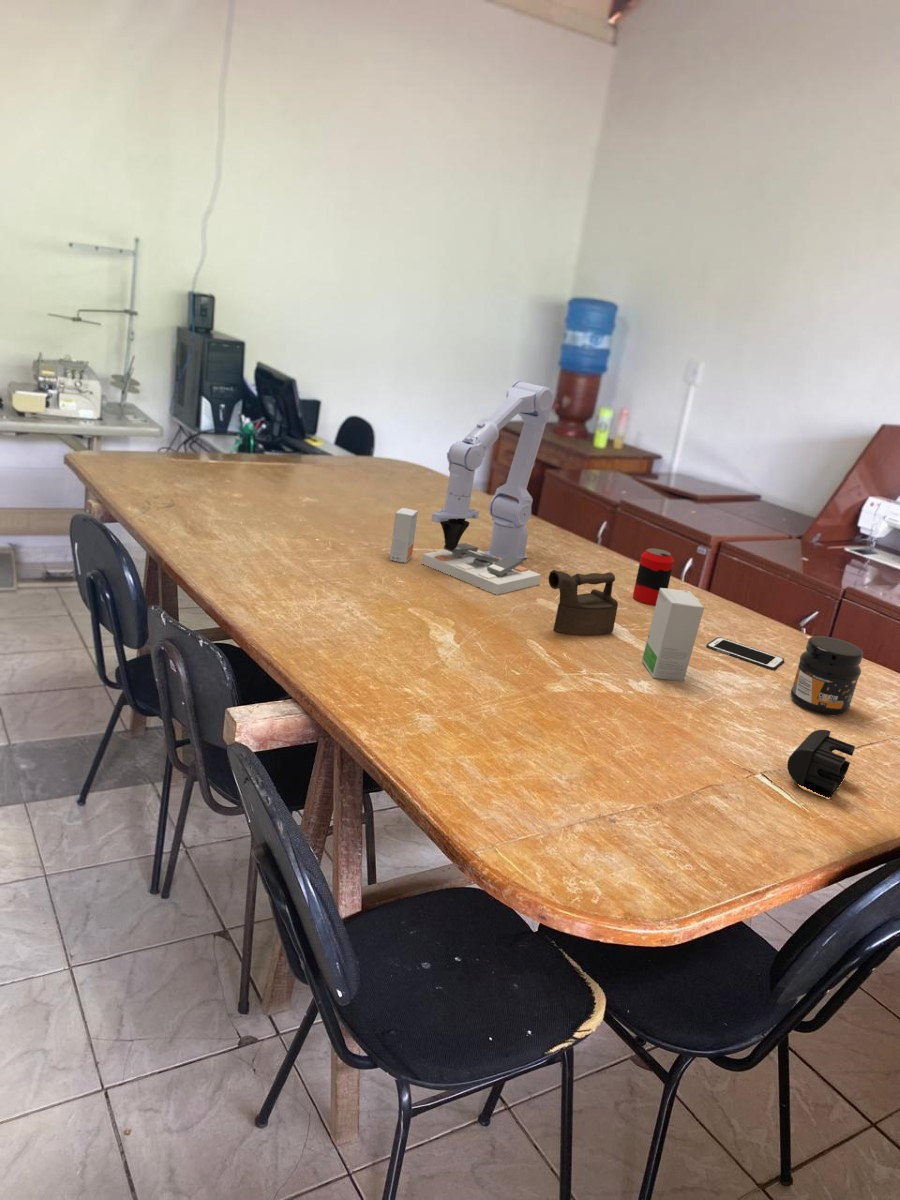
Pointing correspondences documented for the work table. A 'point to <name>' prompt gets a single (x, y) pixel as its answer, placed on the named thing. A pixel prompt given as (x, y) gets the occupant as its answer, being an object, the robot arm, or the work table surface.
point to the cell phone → (745, 653)
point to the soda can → (652, 575)
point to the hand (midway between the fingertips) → (450, 549)
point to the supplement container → (827, 675)
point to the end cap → (820, 763)
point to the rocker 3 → (504, 565)
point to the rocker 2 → (481, 556)
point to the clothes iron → (584, 604)
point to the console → (480, 572)
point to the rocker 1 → (463, 548)
